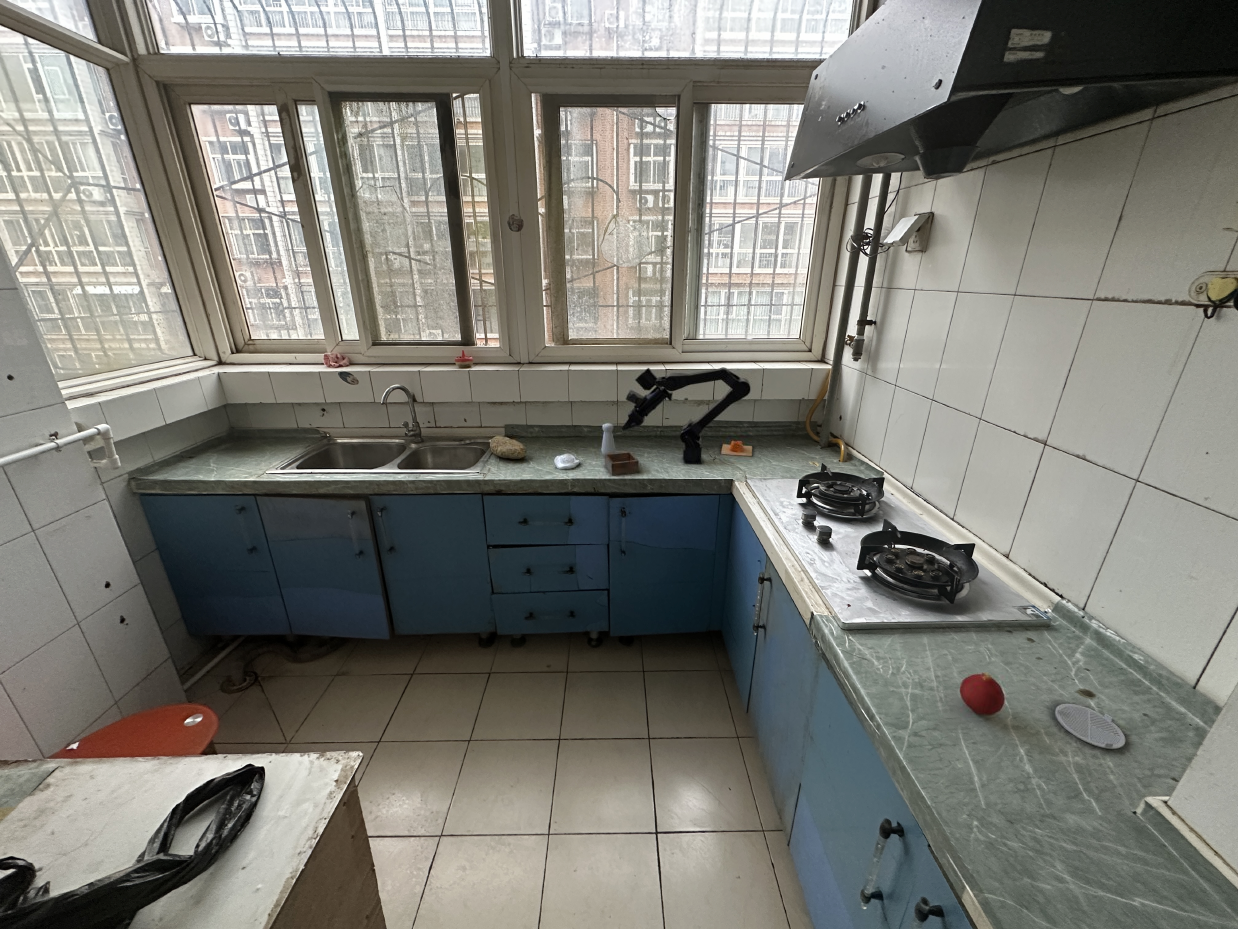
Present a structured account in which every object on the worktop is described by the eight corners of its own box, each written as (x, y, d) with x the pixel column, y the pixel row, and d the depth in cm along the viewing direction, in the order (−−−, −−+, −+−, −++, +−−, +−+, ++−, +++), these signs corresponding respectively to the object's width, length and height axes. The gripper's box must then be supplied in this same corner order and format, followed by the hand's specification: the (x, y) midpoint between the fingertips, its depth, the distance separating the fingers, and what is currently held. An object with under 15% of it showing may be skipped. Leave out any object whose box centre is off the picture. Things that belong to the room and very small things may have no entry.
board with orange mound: (752, 446, 208) (753, 436, 206) (751, 456, 196) (752, 446, 195) (723, 444, 210) (723, 434, 209) (721, 453, 199) (721, 443, 198)
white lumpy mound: (550, 451, 191) (574, 448, 194) (551, 462, 192) (574, 458, 196) (558, 460, 182) (583, 456, 186) (559, 471, 184) (583, 467, 188)
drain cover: (1056, 696, 85) (1058, 692, 84) (1123, 723, 80) (1125, 718, 79) (1053, 728, 79) (1055, 723, 79) (1126, 759, 74) (1128, 754, 73)
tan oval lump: (488, 453, 207) (492, 459, 188) (489, 434, 206) (493, 438, 187) (520, 455, 211) (527, 461, 193) (521, 436, 210) (528, 441, 192)
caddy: (630, 462, 191) (630, 451, 190) (638, 472, 182) (638, 460, 180) (604, 465, 189) (604, 454, 187) (611, 475, 180) (611, 463, 178)
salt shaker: (616, 453, 202) (616, 422, 197) (615, 458, 196) (614, 426, 192) (602, 452, 202) (601, 422, 198) (600, 457, 197) (599, 426, 192)
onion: (981, 697, 85) (993, 660, 82) (1006, 726, 80) (1020, 687, 77) (947, 698, 85) (958, 661, 82) (971, 727, 79) (983, 688, 77)
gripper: (642, 378, 195) (615, 405, 201) (634, 389, 178) (604, 417, 184) (662, 399, 196) (634, 424, 202) (655, 411, 179) (625, 439, 185)
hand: (624, 425), depth 193 cm, fingers open, 9 cm apart
